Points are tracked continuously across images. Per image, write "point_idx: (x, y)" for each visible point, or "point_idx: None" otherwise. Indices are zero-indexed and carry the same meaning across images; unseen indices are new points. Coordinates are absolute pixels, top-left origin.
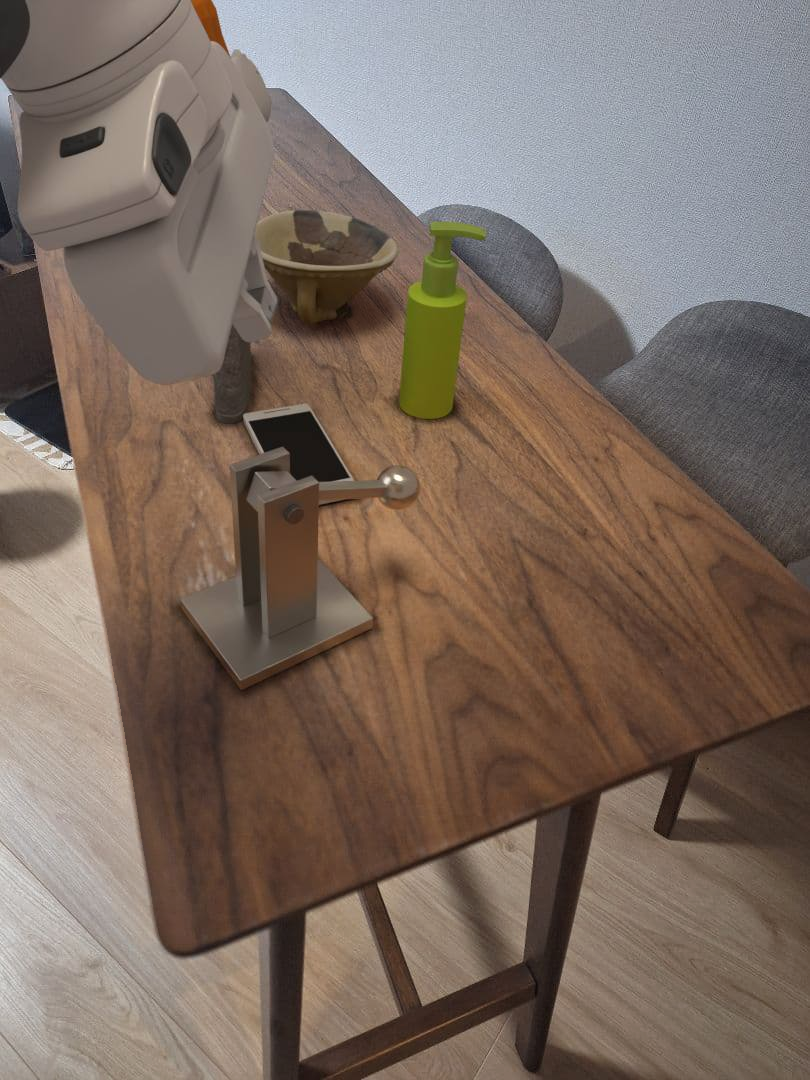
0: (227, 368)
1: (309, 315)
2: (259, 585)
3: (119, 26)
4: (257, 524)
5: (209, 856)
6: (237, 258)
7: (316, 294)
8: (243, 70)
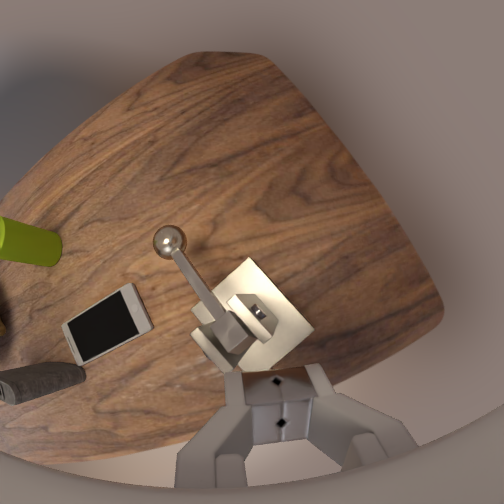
0: (59, 381)
1: (2, 328)
2: None
3: None
4: None
5: (412, 315)
6: (455, 474)
7: None
8: None
